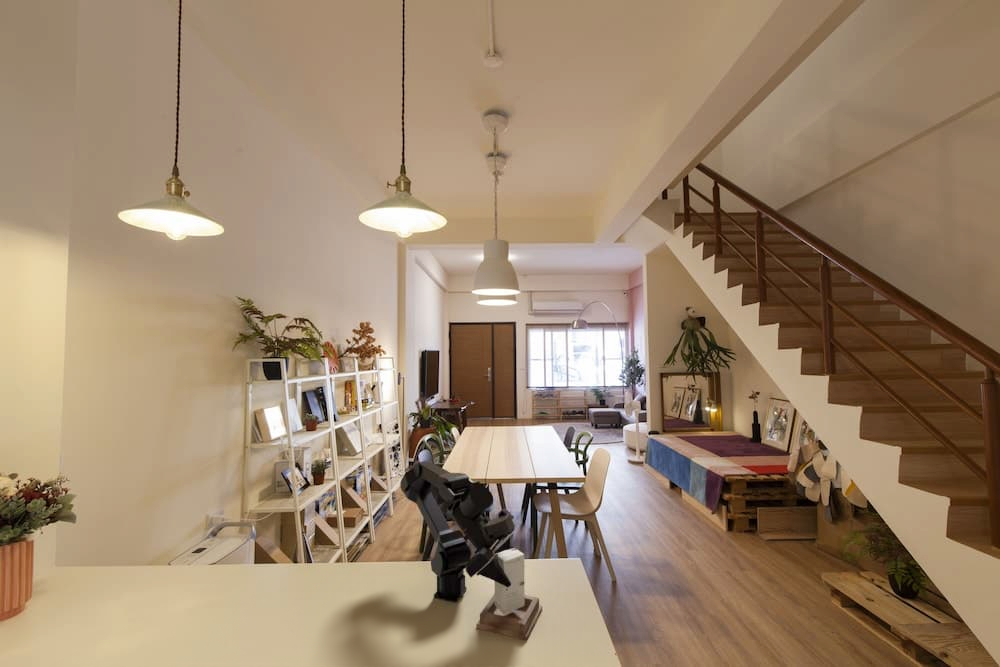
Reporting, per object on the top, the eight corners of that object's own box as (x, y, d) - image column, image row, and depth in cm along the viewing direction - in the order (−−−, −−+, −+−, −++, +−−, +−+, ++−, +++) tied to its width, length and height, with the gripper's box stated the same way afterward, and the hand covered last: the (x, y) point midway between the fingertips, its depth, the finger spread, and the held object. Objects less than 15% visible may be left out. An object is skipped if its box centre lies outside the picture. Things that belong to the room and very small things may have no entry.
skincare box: (504, 615, 100) (503, 562, 100) (493, 605, 104) (493, 553, 104) (525, 605, 103) (525, 554, 103) (514, 596, 107) (514, 546, 107)
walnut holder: (476, 627, 100) (476, 615, 100) (496, 598, 111) (496, 587, 111) (526, 640, 95) (526, 627, 95) (542, 608, 106) (542, 597, 107)
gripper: (478, 517, 96) (526, 578, 92) (507, 490, 114) (548, 540, 110) (446, 547, 99) (491, 607, 95) (479, 516, 116) (518, 566, 112)
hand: (515, 577), depth 103 cm, fingers closed on skincare box, 7 cm apart
